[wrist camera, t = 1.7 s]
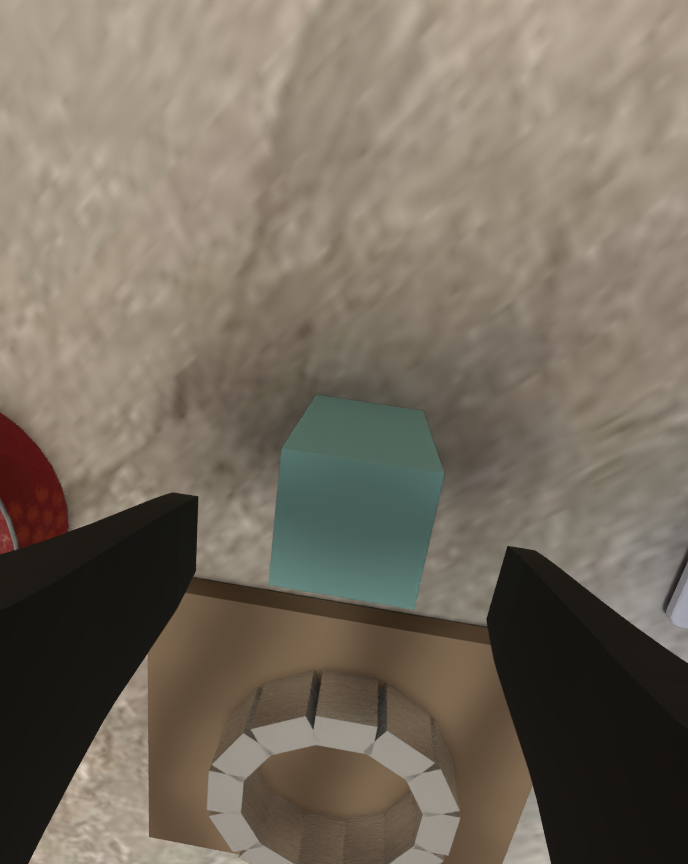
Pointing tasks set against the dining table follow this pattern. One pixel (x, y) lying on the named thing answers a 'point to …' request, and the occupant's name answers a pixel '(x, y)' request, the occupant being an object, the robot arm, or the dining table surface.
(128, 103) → the dining table surface
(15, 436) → the canned food
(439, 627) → the walnut board
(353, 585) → the teal peg
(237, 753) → the steel collar
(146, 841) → the dining table surface
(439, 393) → the dining table surface
